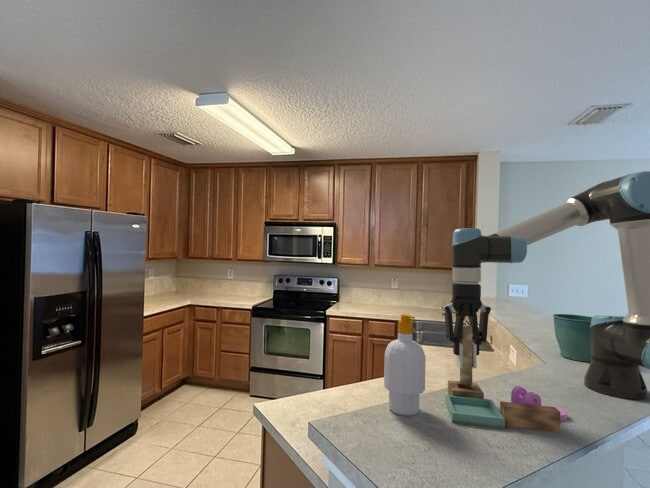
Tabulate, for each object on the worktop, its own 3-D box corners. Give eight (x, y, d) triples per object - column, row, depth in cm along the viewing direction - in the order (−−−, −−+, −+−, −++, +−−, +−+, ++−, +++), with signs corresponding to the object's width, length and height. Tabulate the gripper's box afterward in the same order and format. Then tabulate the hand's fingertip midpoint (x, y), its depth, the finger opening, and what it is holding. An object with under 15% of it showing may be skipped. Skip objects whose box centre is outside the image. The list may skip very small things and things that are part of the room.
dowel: (469, 381, 100) (469, 324, 100) (474, 385, 96) (474, 327, 97) (458, 381, 100) (458, 324, 100) (463, 385, 96) (463, 327, 97)
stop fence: (554, 426, 83) (554, 406, 83) (560, 432, 80) (560, 412, 80) (500, 420, 85) (500, 401, 86) (503, 425, 82) (503, 406, 83)
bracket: (528, 424, 84) (528, 394, 84) (511, 413, 90) (511, 386, 90) (572, 420, 87) (572, 391, 87) (552, 410, 93) (553, 383, 93)
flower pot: (603, 357, 148) (603, 317, 149) (609, 367, 133) (609, 323, 134) (552, 350, 158) (552, 312, 159) (553, 359, 143) (553, 317, 144)
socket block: (476, 395, 101) (476, 383, 101) (483, 406, 93) (483, 393, 93) (447, 392, 103) (447, 380, 103) (452, 403, 95) (452, 390, 95)
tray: (491, 408, 92) (491, 399, 92) (504, 428, 81) (504, 419, 81) (445, 403, 95) (445, 394, 95) (452, 422, 83) (452, 413, 83)
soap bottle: (400, 422, 82) (403, 319, 84) (375, 405, 92) (377, 312, 93) (433, 414, 87) (435, 317, 88) (405, 399, 96) (407, 311, 97)
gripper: (487, 282, 103) (487, 362, 102) (433, 281, 103) (433, 362, 102) (501, 284, 96) (501, 371, 95) (443, 283, 95) (443, 370, 94)
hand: (466, 366), depth 98 cm, fingers closed on dowel, 3 cm apart
